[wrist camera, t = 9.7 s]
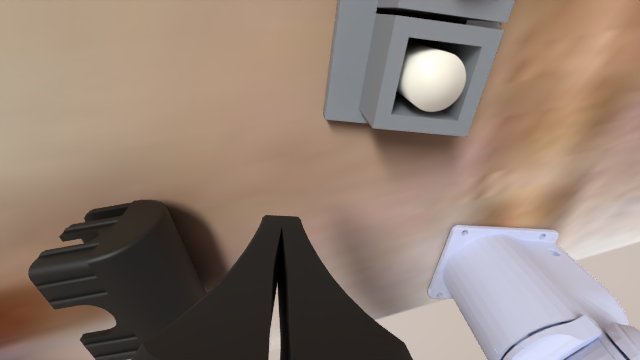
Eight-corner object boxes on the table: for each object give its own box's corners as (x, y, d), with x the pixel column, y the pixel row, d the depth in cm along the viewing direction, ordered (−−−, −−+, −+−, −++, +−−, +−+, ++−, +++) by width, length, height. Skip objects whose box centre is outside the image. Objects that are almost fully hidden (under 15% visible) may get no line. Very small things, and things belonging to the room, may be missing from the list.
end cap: (223, 286, 27) (205, 363, 22) (141, 300, 27) (101, 381, 22) (181, 186, 23) (143, 250, 17) (82, 204, 23) (9, 274, 17)
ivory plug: (434, 45, 19) (474, 55, 15) (422, 92, 20) (455, 114, 16) (389, 39, 19) (416, 48, 15) (379, 88, 20) (402, 109, 16)
